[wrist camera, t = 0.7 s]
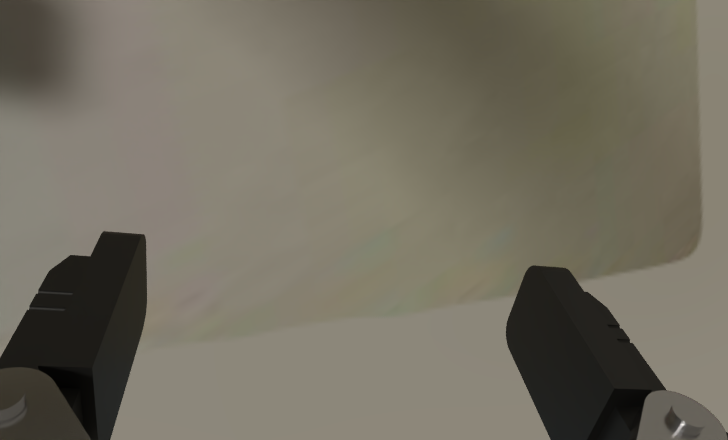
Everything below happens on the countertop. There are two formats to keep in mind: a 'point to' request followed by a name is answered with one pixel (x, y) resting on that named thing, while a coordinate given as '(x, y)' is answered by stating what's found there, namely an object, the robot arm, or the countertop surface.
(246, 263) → the countertop surface
